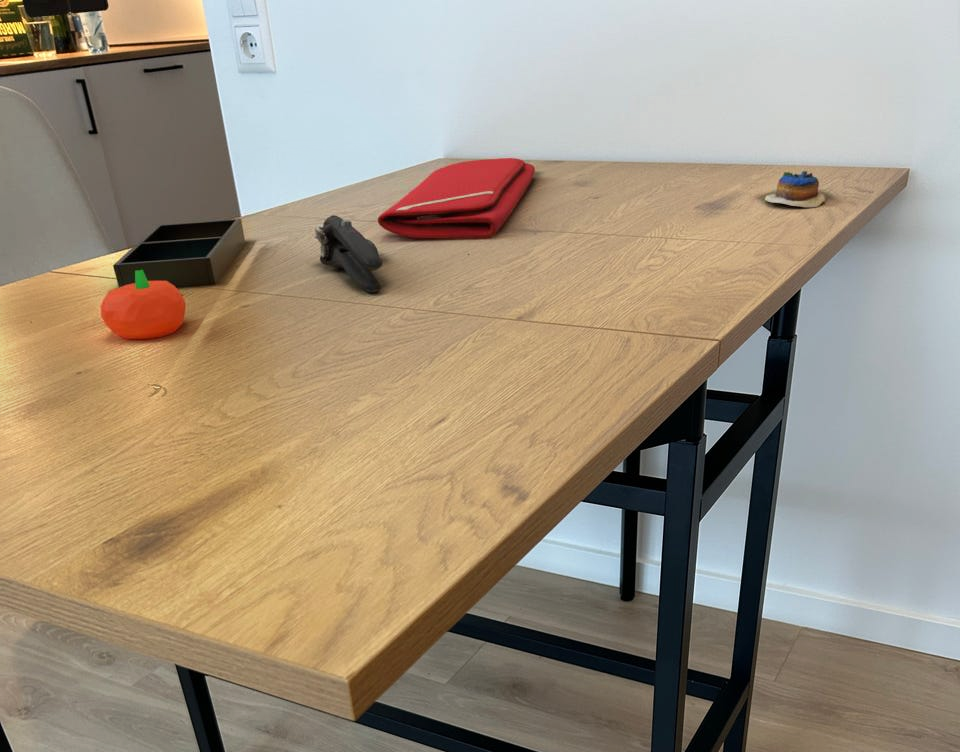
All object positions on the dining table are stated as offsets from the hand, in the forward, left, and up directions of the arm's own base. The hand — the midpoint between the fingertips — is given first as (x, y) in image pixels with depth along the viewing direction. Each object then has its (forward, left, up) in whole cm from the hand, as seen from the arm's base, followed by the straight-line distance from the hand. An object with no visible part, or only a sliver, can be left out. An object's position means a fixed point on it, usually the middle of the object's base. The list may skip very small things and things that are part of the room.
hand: (70, 13), depth 78 cm
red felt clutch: (+30, +59, -27) cm, 71 cm away
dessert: (+73, +45, -27) cm, 89 cm away
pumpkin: (-2, +6, -27) cm, 28 cm away
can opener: (+17, +24, -27) cm, 40 cm away
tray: (-4, +33, -27) cm, 42 cm away
